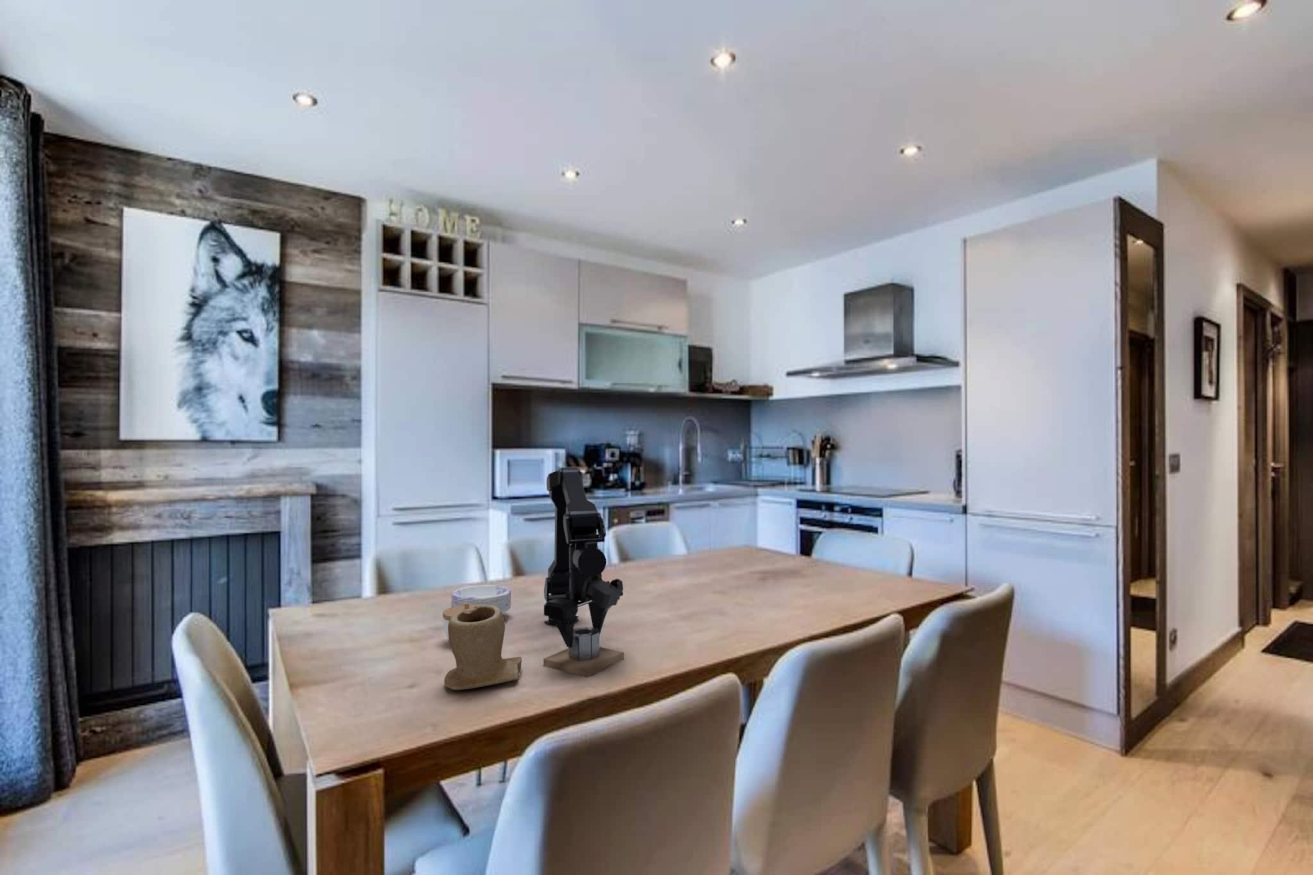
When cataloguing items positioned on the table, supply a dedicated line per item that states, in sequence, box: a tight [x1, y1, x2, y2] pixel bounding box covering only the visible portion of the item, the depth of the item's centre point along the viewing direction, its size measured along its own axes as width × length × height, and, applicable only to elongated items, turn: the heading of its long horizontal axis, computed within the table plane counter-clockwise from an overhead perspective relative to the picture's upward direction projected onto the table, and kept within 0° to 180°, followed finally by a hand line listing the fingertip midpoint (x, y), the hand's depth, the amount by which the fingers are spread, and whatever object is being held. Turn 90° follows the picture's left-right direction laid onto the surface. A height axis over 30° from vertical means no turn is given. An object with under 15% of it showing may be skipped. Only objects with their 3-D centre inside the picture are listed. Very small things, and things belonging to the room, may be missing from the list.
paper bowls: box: [450, 584, 512, 615], centre depth 166 cm, size 15×15×8 cm
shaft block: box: [543, 646, 625, 678], centre depth 133 cm, size 12×12×6 cm
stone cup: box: [443, 605, 523, 691], centre depth 122 cm, size 15×12×15 cm
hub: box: [567, 626, 600, 661], centre depth 133 cm, size 6×6×5 cm
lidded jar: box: [442, 603, 477, 640], centre depth 147 cm, size 11×11×9 cm
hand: (583, 641), depth 133 cm, fingers open, 9 cm apart
